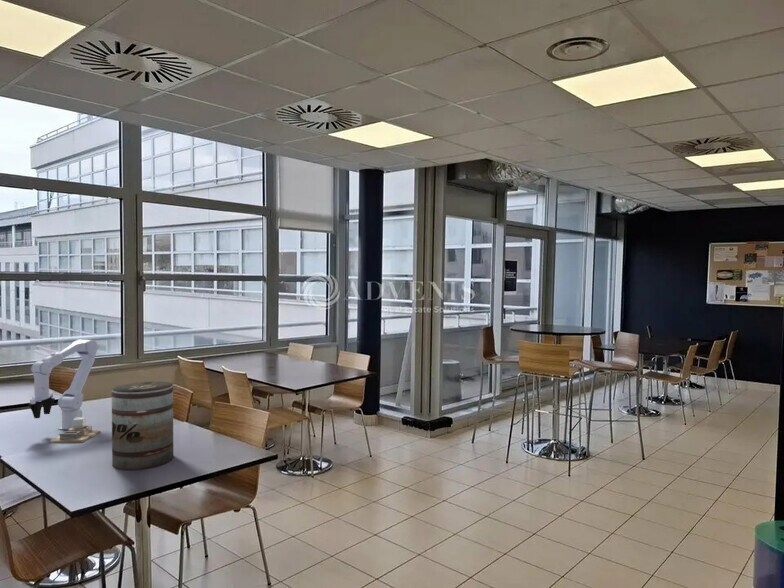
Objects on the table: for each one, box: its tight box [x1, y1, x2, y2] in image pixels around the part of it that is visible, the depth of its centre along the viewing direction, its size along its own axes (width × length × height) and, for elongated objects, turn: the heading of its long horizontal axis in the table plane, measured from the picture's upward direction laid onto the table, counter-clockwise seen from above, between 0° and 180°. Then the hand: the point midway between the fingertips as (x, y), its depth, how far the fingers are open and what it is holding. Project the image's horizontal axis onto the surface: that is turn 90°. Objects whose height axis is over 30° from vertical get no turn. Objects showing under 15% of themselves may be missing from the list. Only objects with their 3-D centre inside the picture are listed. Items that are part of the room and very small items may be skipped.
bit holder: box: [49, 425, 101, 444], centre depth 249 cm, size 16×14×4 cm
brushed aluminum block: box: [73, 416, 87, 430], centre depth 252 cm, size 4×4×7 cm
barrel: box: [111, 380, 174, 471], centre depth 217 cm, size 22×22×30 cm
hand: (42, 416), depth 251 cm, fingers open, 7 cm apart
